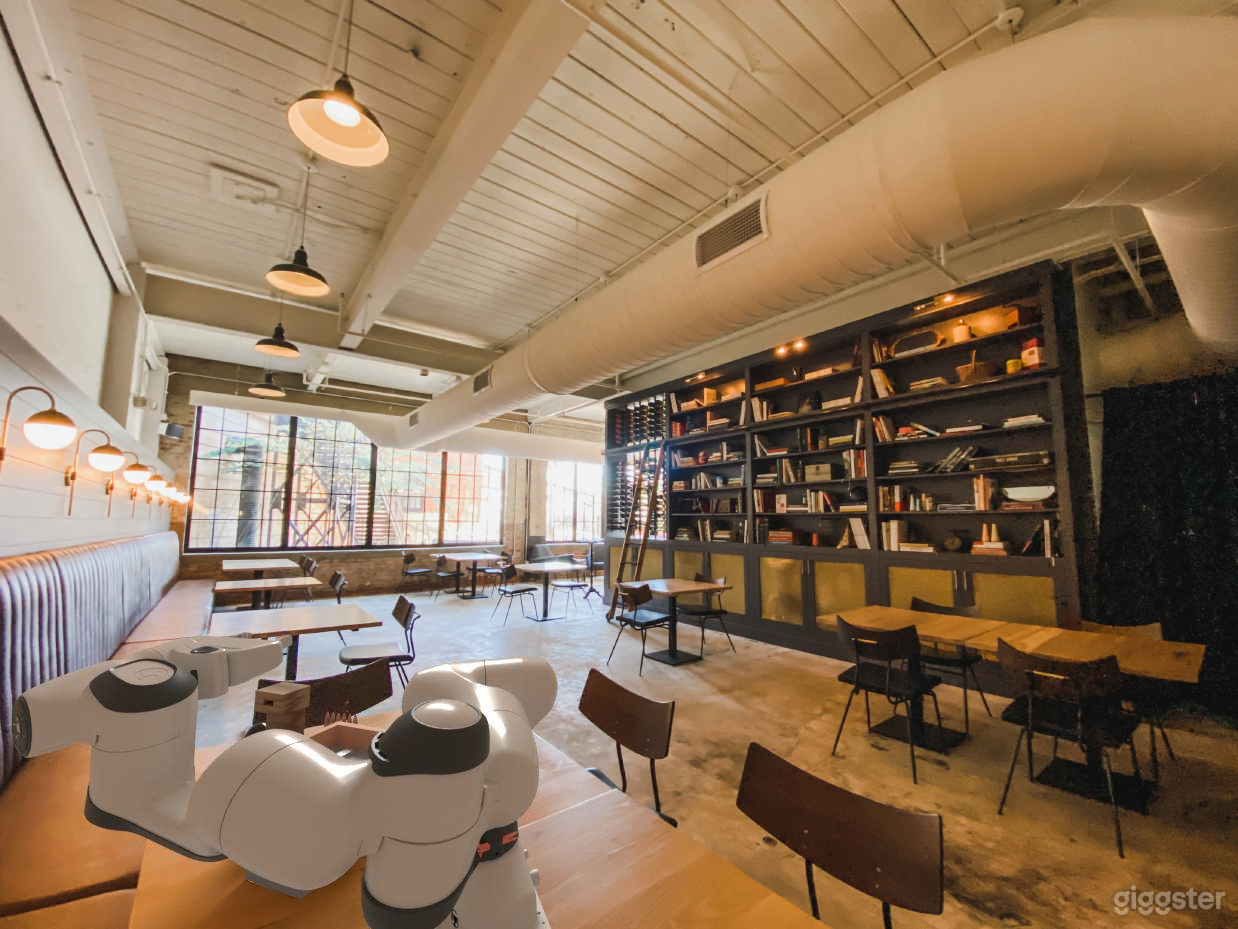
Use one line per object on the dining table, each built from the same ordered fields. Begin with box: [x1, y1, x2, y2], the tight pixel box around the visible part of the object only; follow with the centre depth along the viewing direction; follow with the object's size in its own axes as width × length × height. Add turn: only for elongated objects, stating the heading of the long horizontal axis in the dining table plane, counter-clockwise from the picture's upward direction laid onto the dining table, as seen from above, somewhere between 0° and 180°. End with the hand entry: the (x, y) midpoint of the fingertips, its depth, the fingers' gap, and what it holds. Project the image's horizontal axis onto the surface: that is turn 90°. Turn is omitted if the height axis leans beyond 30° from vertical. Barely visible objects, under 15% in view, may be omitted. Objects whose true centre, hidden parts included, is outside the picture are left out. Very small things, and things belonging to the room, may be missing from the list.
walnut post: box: [253, 681, 311, 736], centre depth 105 cm, size 8×12×29 cm, turn 70°
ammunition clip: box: [323, 711, 359, 728], centre depth 135 cm, size 11×2×12 cm, turn 77°
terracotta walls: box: [305, 721, 388, 750], centre depth 98 cm, size 18×14×4 cm
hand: (268, 638), depth 86 cm, fingers open, 8 cm apart
